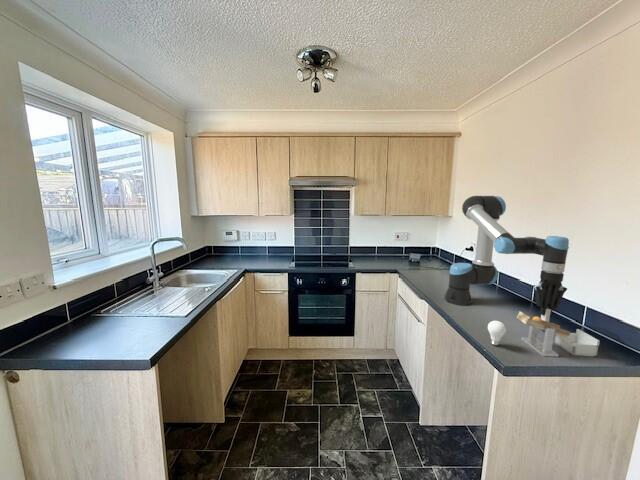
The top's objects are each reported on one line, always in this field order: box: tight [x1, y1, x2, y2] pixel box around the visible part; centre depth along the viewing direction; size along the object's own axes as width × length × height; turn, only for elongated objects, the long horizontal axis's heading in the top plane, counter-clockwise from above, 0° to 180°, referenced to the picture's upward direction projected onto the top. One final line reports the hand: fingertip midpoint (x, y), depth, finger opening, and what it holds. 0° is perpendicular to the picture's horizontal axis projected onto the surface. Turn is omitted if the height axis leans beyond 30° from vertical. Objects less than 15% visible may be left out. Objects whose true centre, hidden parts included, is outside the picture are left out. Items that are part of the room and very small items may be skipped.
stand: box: [520, 325, 559, 358], centre depth 112 cm, size 13×6×12 cm, turn 175°
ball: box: [532, 315, 542, 323], centre depth 112 cm, size 3×3×3 cm
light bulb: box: [487, 320, 507, 346], centre depth 114 cm, size 7×7×11 cm
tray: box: [553, 328, 600, 357], centre depth 112 cm, size 10×9×7 cm
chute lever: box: [516, 310, 572, 338], centre depth 115 cm, size 14×18×4 cm
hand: (544, 321), depth 119 cm, fingers closed
